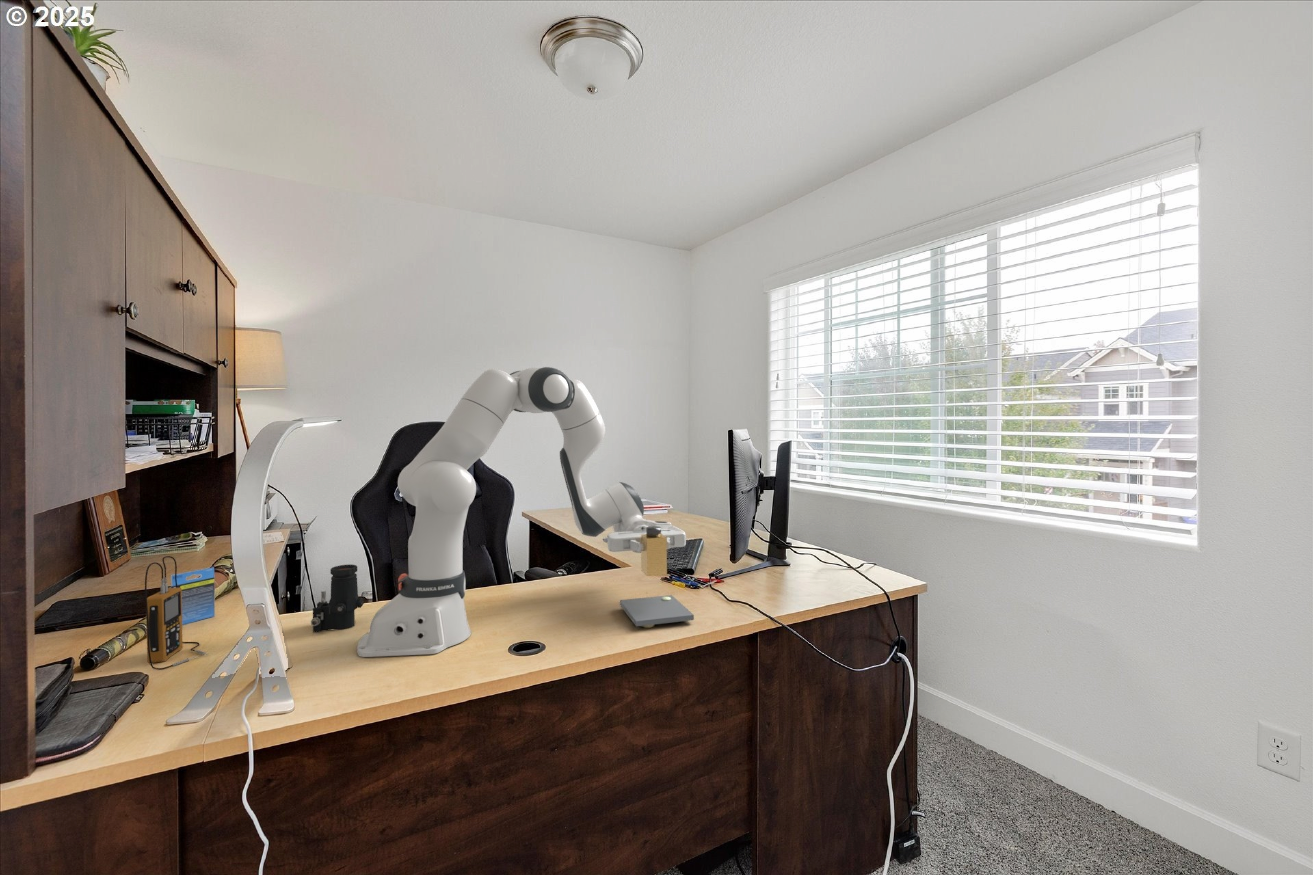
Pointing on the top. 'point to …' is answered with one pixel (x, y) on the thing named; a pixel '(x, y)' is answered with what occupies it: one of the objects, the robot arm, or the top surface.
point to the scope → (338, 601)
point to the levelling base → (655, 610)
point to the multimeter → (164, 621)
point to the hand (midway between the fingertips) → (654, 546)
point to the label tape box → (196, 594)
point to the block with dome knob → (654, 552)
